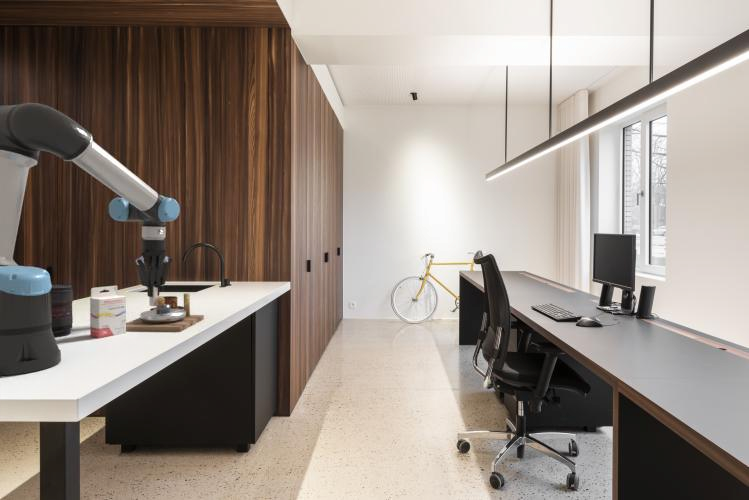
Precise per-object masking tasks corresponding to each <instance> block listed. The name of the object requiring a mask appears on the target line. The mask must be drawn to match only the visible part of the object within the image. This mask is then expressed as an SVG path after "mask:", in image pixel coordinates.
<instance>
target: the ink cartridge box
mask: <svg viewBox="0 0 749 500" xmlns="http://www.w3.org/2000/svg"><path fill="white" fill-rule="evenodd" d="M104 290H105V292H103V291H104ZM106 291H107V292H106ZM89 299H90V300H89V312H90V313H89V319H90V320H89V321H90V322H89V323H90V325H89V326H90V327H89V329H90V331H89V333H90V334H89V335H90V337H94V338H98V339H101V338H107V337H111V336H112V337H113V336H117V335H122V334H123V335H124V334H126V333H127V331H126V323H127V296H126V295H118V285H109V286H99V287H92V288H91V289H90V297H89Z"/></svg>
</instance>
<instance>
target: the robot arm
mask: <svg viewBox="0 0 749 500" xmlns="http://www.w3.org/2000/svg"><path fill="white" fill-rule="evenodd" d="M42 151H43V152H49V153H50V154H53V155H55V156H57V157H58V158H60V159H62V160H63V161H65V162H73V163H74V164H75V165H76V166H78V167H79V168H81V169H82V170H83V171H85V172H87V173H88V174H89V175H91V177H93V178H95V179H96V180H97V181H99V182H101V184H102V185H105V187H107V188H109V189H110V190H111V191H113V192H114V193H115V194H117V195H118V196H119V197H115V198H113V199H112V200H111V201H110V202H109V205H108V213H109V215H110V218H112V219H113V220H115V221H118V222H122V223H123V222H141V238H142V240H141V250H142V252H141V254H140V257H138V258H135V259H134V263H135V265H136V266H137V270H138V275H139V279H140V283H141V286H142V287H145V288H146V289H147V292H146V293H147V297H149V306H151V307H156V306H157V299H158V296H160V292H161V291H160V288H161V287H162V286H164V285H165V284H166V281H167V278H168V277H167V276H168V272H169V269H170V264H171V263H172V261H173V259H172V257H171V258H170V257H168V256H167V254H166V252H165V251H166V247H167V245H166V236H167V235H166V231H167V230H166V224H167V223H166V222H173V221H175V220H176V219H177V218H178V217H179V215H180V212H181V211H180V205H179V203H178V202H177V200H176V199H174V198H171V197H168V196H167V197H165V196H164V195H161V194H159V193H158V192H157V191H156V190H154V189H153V188H152V187H150V185H148V184H147V183H145V182H144V181H143V180H142V179H141V178H140V177H138V176H137V175H136V174H134V173H133V172H132V171H131V170H129V169H128V168H127V167H126V166H125V165H123V164H122V163H121V162H120V161H119V160H117V159H116V158H115V157H114V156H113V155H111V154H110V153H109V152H108V151H106V150H105V149H104V148H103V147H101V146H100V145H98V143H97V142H95V141H94V140H93V135H92V133H90V132H89V131H88V130H87V129H86V128H84V127H83V126H81V125H80V124H79V123H78V122H76V121H75V120H73V119H72V118H71V117H69V116H67V115H66V114H65V113H63V112H62V111H59V110H57V109H55V108H53V107H51V106H49V105H45V104H43V103H38V102H37V103H36V102H26V103H21V104H13V105H0V376H11V375H14V376H15V375H21V374H27V373H33V372H37V371H42V370H45V369H48V368H52V367H53V366H54V367H55V366H56V365H58V364H60V363H61V362H62V352H61V349H60V348H59V346H58V343H57V340H56V337H54V335H53V333H52V327H51V288H52V285H53V284H52V281H51V275H50V273H49V271H47V270H46V269H43V268H41V267H35V266H24V265H19V264H17V262H15V260H14V258H13V257H14V251H15V247H16V241H17V235H18V229H19V225H20V220H21V214H22V207H23V202H24V197H25V191H26V187H27V181H28V175H29V171H30V169H31V168H33V167H35V166H37V165H38V162H39V161H38V160H39V156H40V152H42Z"/></svg>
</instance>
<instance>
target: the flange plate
mask: <svg viewBox="0 0 749 500" xmlns="http://www.w3.org/2000/svg"><path fill="white" fill-rule="evenodd" d="M155 307H156V310H150V309H149V310H147V311H143V312H140V318H141V321H143V322H170V321H177V320H181V319H184V318H186V311H185V310H184V309H171V305H169V304H165V298H164V296H162V295H159V296H158V299H157V306H155Z"/></svg>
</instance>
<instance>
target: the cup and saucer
mask: <svg viewBox="0 0 749 500" xmlns="http://www.w3.org/2000/svg"><path fill="white" fill-rule="evenodd" d="M163 297H164V298H165V304H169V305H171V309H183V310H184V306H181V305H178V296H177V295H176V296H175V295H171V296H170V295H169V296H168V295H167V296H163ZM150 310H156V306H154V307H152V308H150V309H149V311H150Z"/></svg>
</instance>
